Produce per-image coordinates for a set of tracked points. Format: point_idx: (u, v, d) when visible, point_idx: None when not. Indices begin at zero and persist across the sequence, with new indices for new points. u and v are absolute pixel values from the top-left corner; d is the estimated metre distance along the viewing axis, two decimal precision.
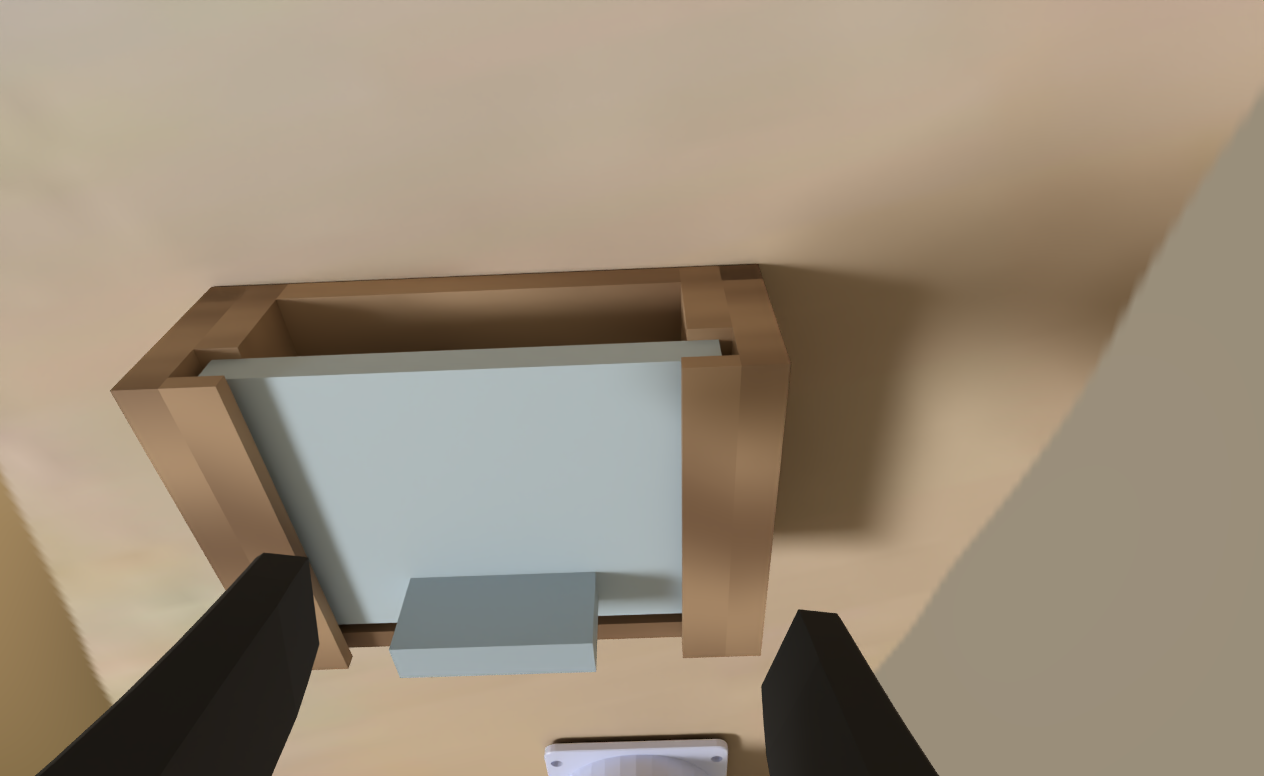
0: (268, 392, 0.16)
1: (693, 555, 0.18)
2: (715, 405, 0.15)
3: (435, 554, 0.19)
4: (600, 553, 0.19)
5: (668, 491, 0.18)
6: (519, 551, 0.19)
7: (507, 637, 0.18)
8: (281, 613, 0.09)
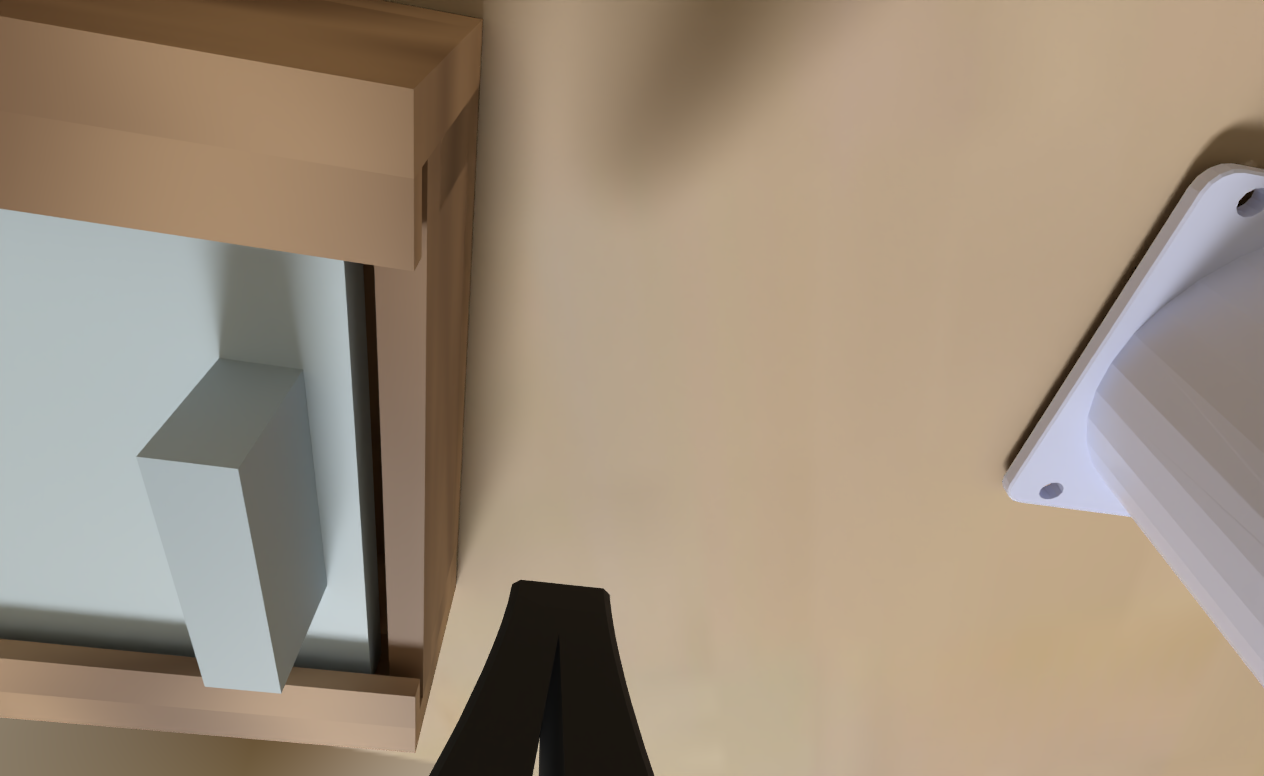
0: None
1: (39, 194, 0.08)
2: None
3: None
4: (167, 341, 0.10)
5: None
6: None
7: None
8: (556, 640, 0.10)
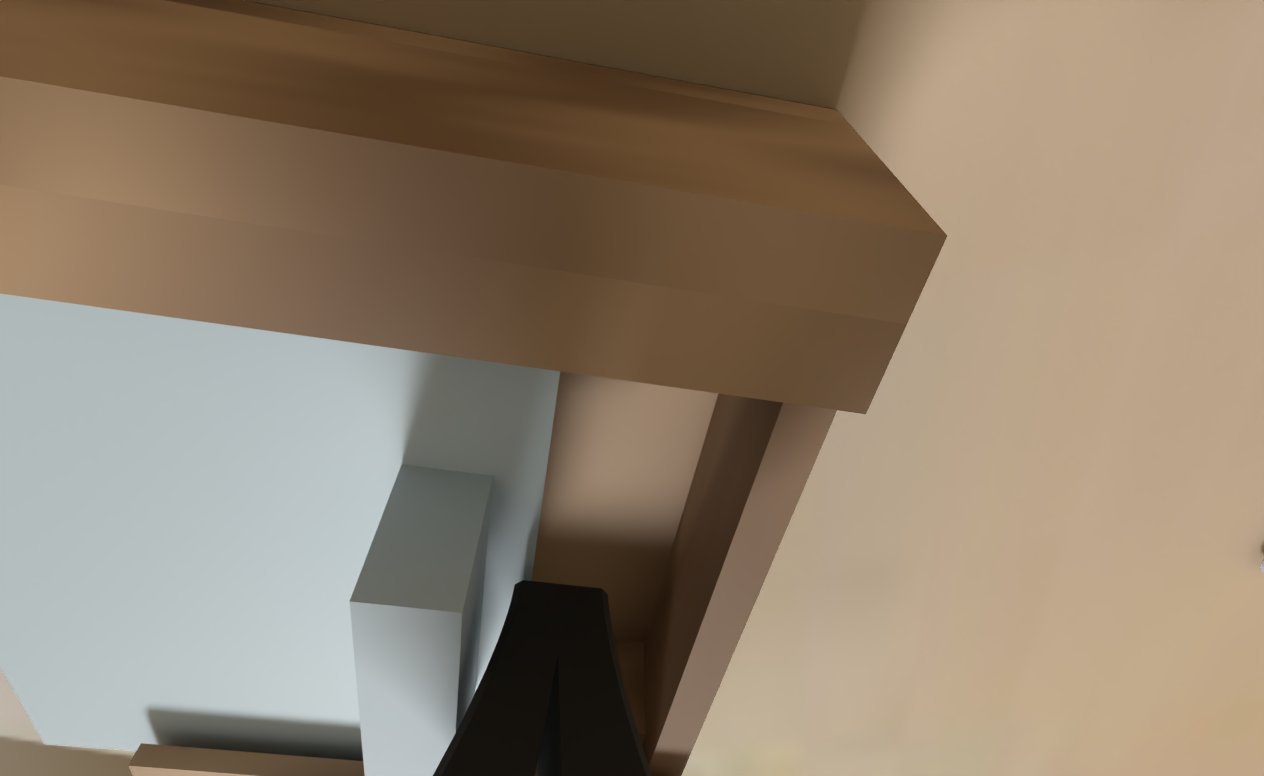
0: (42, 702, 0.13)
1: (485, 340, 0.08)
2: None
3: (348, 645, 0.12)
4: (346, 448, 0.09)
5: None
6: (339, 555, 0.11)
7: None
8: None
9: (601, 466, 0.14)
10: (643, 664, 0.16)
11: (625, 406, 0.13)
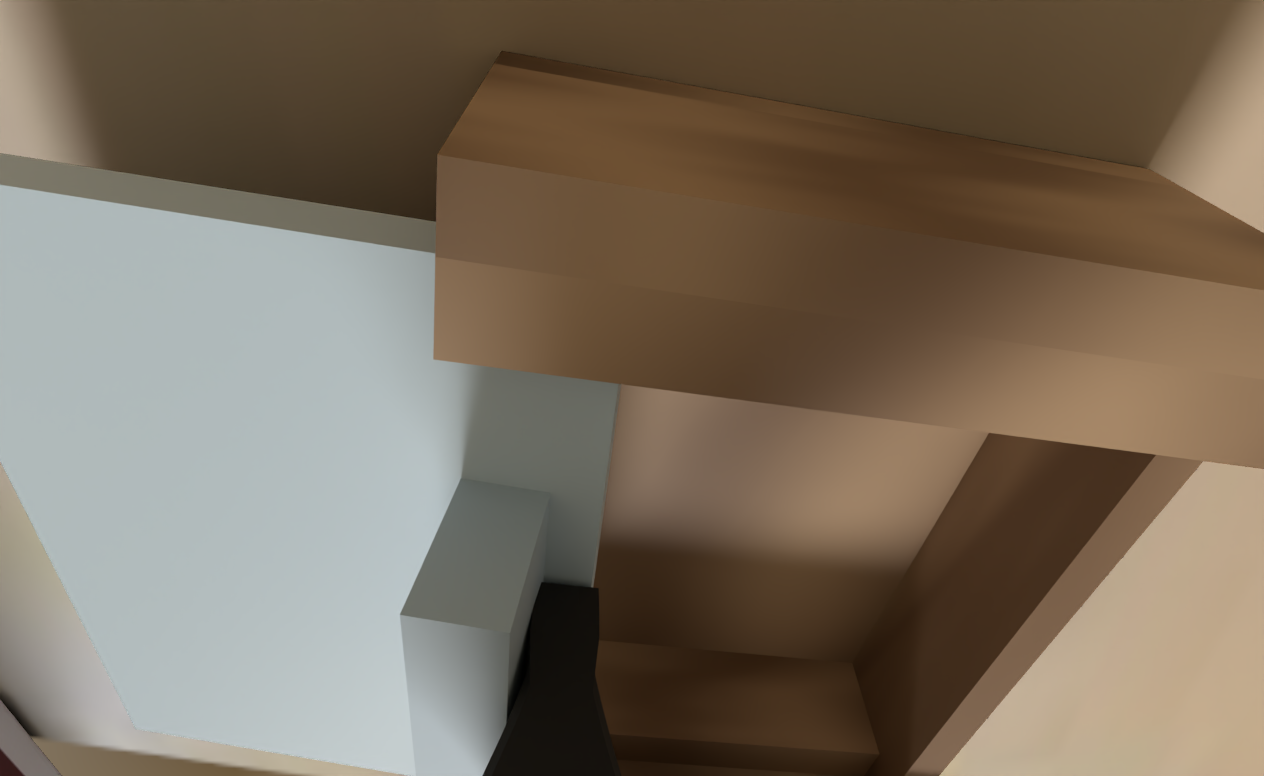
0: (134, 690, 0.14)
1: (944, 407, 0.08)
2: (532, 315, 0.07)
3: None
4: (408, 459, 0.09)
5: (216, 312, 0.08)
6: (401, 564, 0.11)
7: None
8: None
9: (859, 499, 0.14)
10: (858, 685, 0.17)
11: (898, 444, 0.13)
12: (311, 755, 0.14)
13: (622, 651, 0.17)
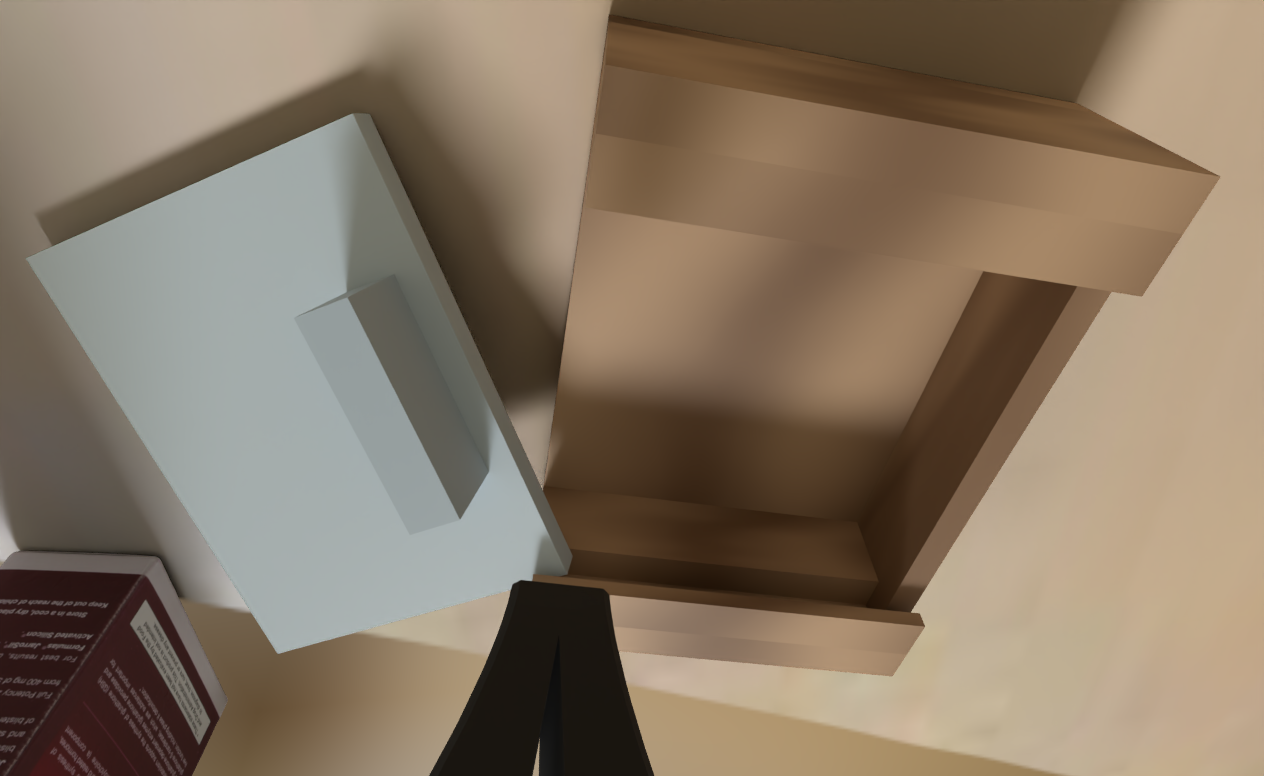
0: (262, 607, 0.19)
1: (919, 245, 0.12)
2: (652, 175, 0.11)
3: None
4: (316, 295, 0.16)
5: (191, 250, 0.16)
6: None
7: None
8: None
9: (862, 370, 0.18)
10: (862, 536, 0.21)
11: (892, 322, 0.17)
12: (389, 617, 0.19)
13: (672, 506, 0.21)
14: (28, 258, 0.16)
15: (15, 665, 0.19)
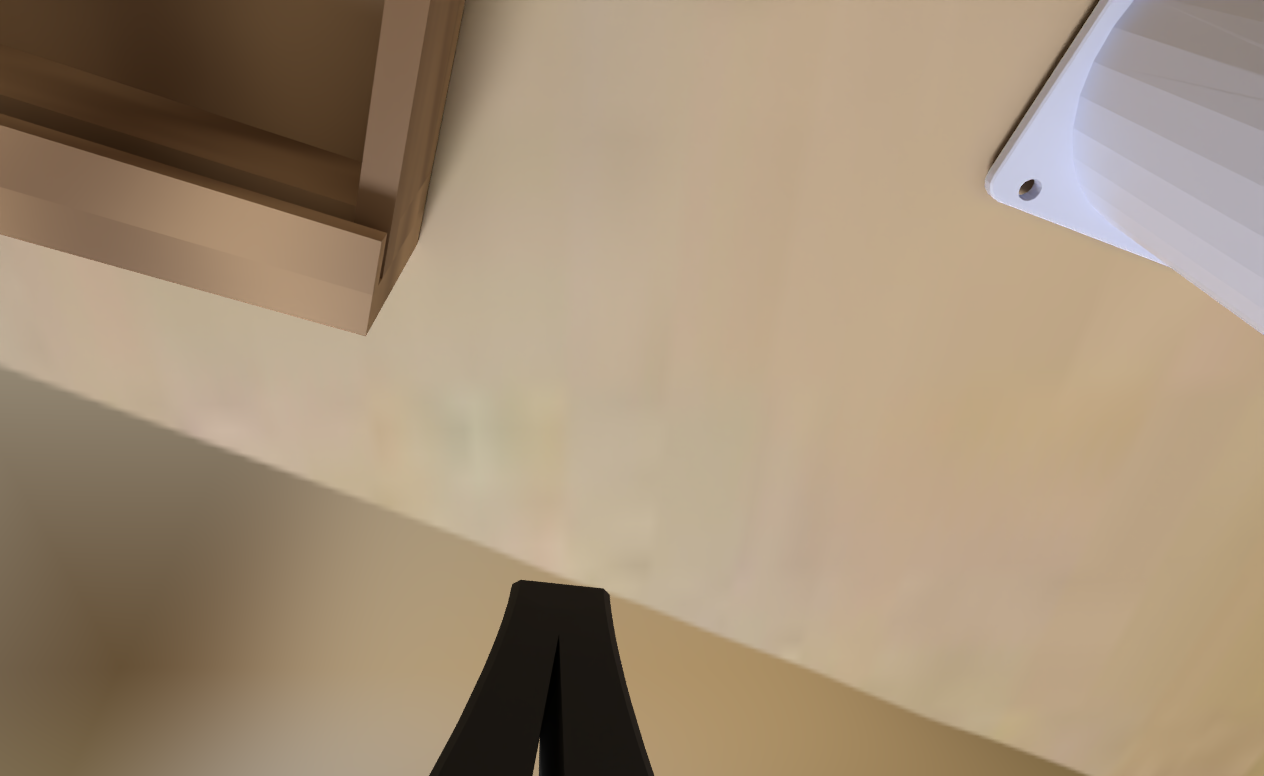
0: None
1: None
2: None
3: None
4: None
5: None
6: None
7: None
8: (556, 640, 0.10)
9: None
10: None
11: None
12: None
13: (122, 88, 0.15)
14: None
15: None
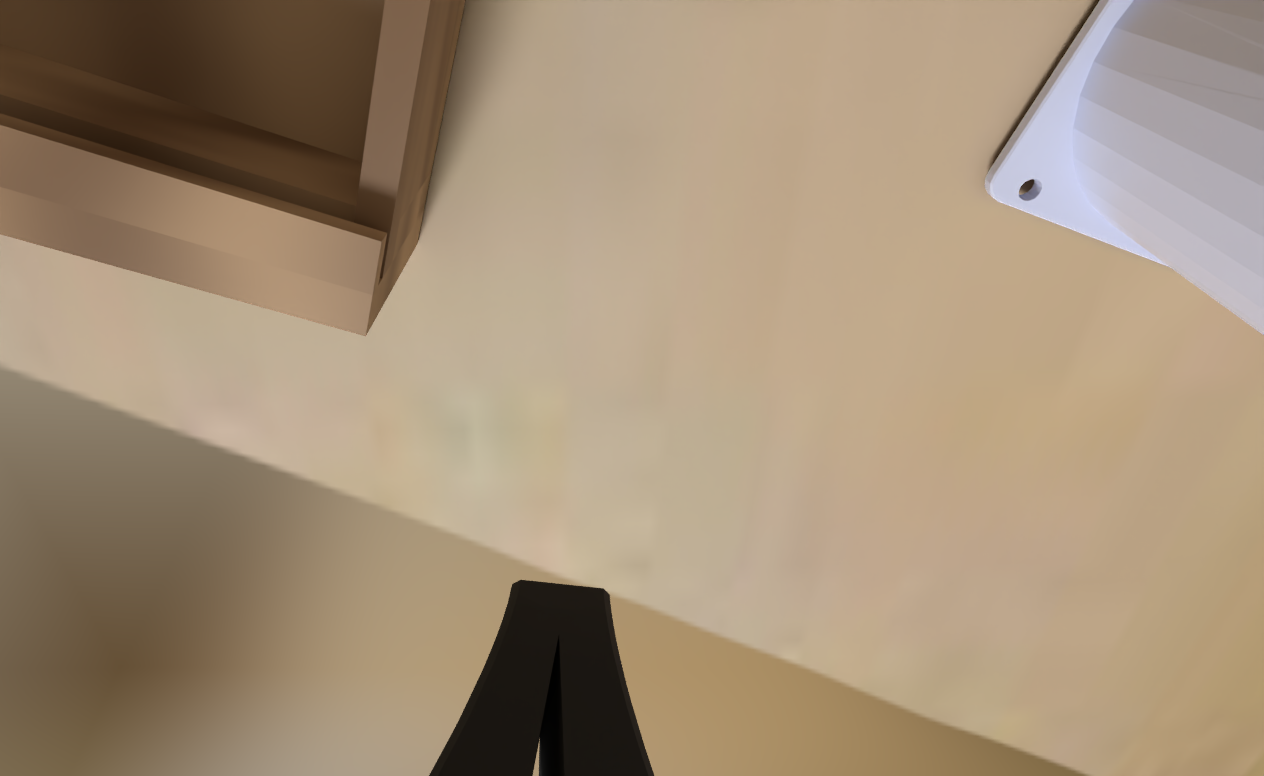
0: None
1: None
2: None
3: None
4: None
5: None
6: None
7: None
8: (556, 640, 0.10)
9: None
10: None
11: None
12: None
13: (122, 88, 0.15)
14: None
15: None
